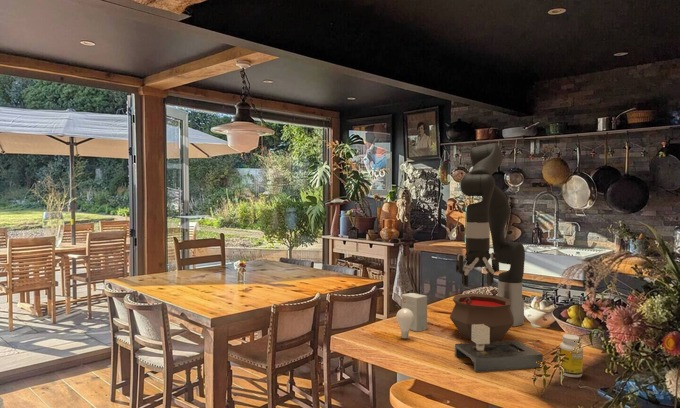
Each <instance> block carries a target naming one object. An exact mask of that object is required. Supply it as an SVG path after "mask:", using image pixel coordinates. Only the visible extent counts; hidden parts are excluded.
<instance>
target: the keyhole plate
mask: <svg viewBox="0 0 680 408" xmlns="http://www.w3.org/2000/svg"><path fill="white" fill-rule="evenodd" d="M543 356H544V355H543V353H541V352H539V351H538V350H536V349H533V348H532V347H530V346H528V345H526V344H524V343H522V342H521V341H519V340H517V339H514V340H500V341H494V342H490V344H484V352H476V343H474V342H462V343H454V357H456V358H461V357H463V358H465V357H468V358H470V359H471V361H472V360H473V361H474V364H473V372H475V373H485V372H499V371H512V370H515V371H516V370H524V369H525V370H527V369H536V368H535V367H540V366H541V365H540V364H538V363H536V361H539V362H544V360H543V359H544V357H543Z"/></svg>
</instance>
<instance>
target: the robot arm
mask: <svg viewBox="0 0 680 408" xmlns="http://www.w3.org/2000/svg"><path fill="white" fill-rule="evenodd" d="M469 158H470V163H471V166H472V168H471V170H470V171H468V172H467V173H465V174H464V175H463V177H461V180H460V191H461V192H462V194H463V195H464V196H466V197H481V200H480V201H478V202H474V203H470V204H468V205H467V206H466V208H465V209H466V211H465V213H466V217H465V218H466V219H465V221H466V224H465V254H460V253H459V254H456V257H455V258H456V261H455V273H458V274H459V275H461V285H462V286H463V287H466V288H468V287H469V273H470V271H472V270H473V269H477V268H484V269H485V270H486V285H488V286H493V284H494V276H495V275H494V274H495V273H497V272H499V271H500V264H503V265H509V269H508V270H507V271H504V272H503V271H502V272H499V273H498V278H497V279H498V280H497V282H498V283H497V287H498V288H497V292H498V293H497V296H500V297H503V298H507V299H510V300H511V306H510V310H511V312H512V315H513V317H514V324H513V325H512V326H511V327H520V326H521V325H524V324H525V301H524V300H523V278H524V272H525V260H526V259H525V257H526V250H525V246H524V245H523V244H522V243H521V242H516V241H508V240H506V238H505V233H504V232H505V227H506V224H507V223H508V220H509V219H510V217H511V216H510V215H511V208H510V204H509V200H508V197H507V195H506V194H505V192H504V191H503V190H502V189H500V187H498V186H497V185H496V181H495V178H494V177H493V175H494V173H495V172H496V170H498V168H499V167H500V166H501V165H502V161H503V155H502V149H501V147H500V145H499V144H498V143H494V142H493V143H492V142H491V143H486V144H481V145H476V146H474V147H472V148H470V150H469ZM490 237H491V238H490ZM490 240H491V242H490ZM491 243H492V251H493V252H491V253H490V249H491V248H490V246H491V245H490V244H491ZM465 260H466V262H465V264H464V261H465ZM489 260H491V264H490V262H489Z"/></svg>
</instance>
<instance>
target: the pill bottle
mask: <svg viewBox="0 0 680 408" xmlns="http://www.w3.org/2000/svg"><path fill="white" fill-rule="evenodd" d="M579 337H580V336H579V335H575V334H568V333H567V334H566V333H564V334H562V338H561V339H562V342H560V343H559V350H558V352H559V354H568V355H567V356H566V357H564V358H563V359H564V360H565V361H567V362H568V363H565V362H562V363H561V365H563V367H564V368H563V369H564V375H563V376H565V377H568V378H581V377H582V376H583V367H584V364H583V363H584V362H583V361H584V348H583V347H584V346H582V347H581V348H580V349H579V350H578V353H577V356H576V358H575V351H573V352H571V351H572V350H573V349H574V348H575V347H578V344H577V343H576V342H578V340H579ZM574 341H575V342H574ZM570 352H571V353H570ZM569 353H570V354H569ZM559 354H558V355H559ZM560 370H561V367H559V366H558V371H559V372H558V373H560Z"/></svg>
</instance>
